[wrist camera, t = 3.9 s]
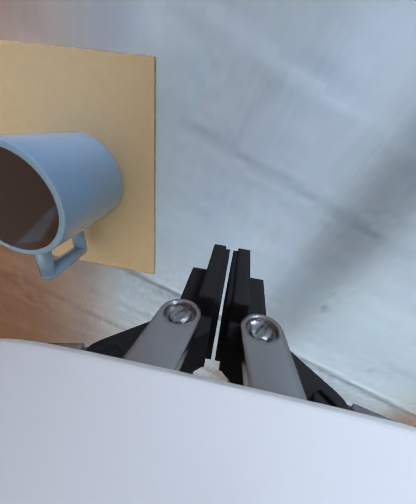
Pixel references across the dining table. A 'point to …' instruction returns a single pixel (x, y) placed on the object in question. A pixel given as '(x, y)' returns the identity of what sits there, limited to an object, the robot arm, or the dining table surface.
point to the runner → (92, 131)
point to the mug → (54, 193)
